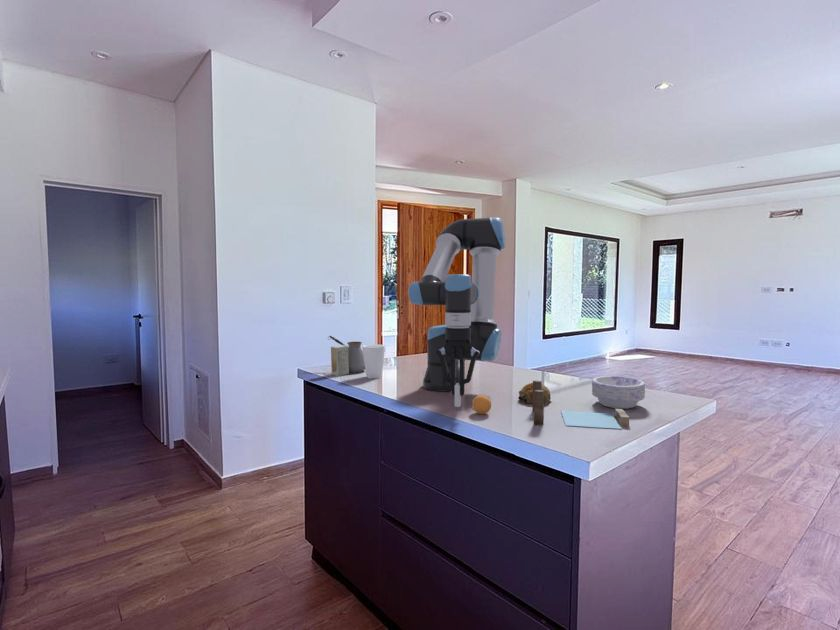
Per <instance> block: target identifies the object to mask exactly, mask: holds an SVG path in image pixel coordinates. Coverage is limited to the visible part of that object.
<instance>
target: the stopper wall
mask: <svg viewBox="0 0 840 630" xmlns="http://www.w3.org/2000/svg"><path fill="white" fill-rule="evenodd" d="M614 419H615V420H616V421H617V423H618V424H619V426H620V427H630V416H629V415H628V414H627V413H626V411H625V410H624V409H617V408H614Z"/></svg>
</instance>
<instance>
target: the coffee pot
mask: <svg viewBox="0 0 840 630" xmlns="http://www.w3.org/2000/svg"><path fill="white" fill-rule="evenodd" d="M329 338H330V339H329ZM327 340H330V341H331V340H333V341H334V342H336V343H337V344H339V345H340V346H341V345H344V346H348V363H349V374H350V373H351V374H352V373H353V374H354V373H357V372H358V373H362V371H363V372H364V371H366V370H365V363H364V356H363V352H362V347H361V346H362V344H363V343H362V341H348V342H347V345H346V344H344V343H343V342H341V341H340V340H339V339H337V338H335V337H334V336H332V335H329V336H328V337H327Z"/></svg>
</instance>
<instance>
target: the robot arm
mask: <svg viewBox="0 0 840 630" xmlns="http://www.w3.org/2000/svg"><path fill="white" fill-rule="evenodd" d="M503 223H504V222H503V221H502V219H501V218H499V217H490V216H489V217H484V218H483V217H479V218H478V217H477V218H462V219H458V220H456V221H453V222H451V223H450V224H449V225H447V226H446V227H444V229H442V230H441V232H440V233H439V234H438V236H437V237H436V240H435V249H434V251H433V253H432V255H431V258H430V260H429V262H428V264H427V266H426V269H425V270H424V273H423V275H422V277H421V278H420V281H418V280H417V281H413V282H411V283H410V284H409V287H408V292H407V293H408V300H409V302H410V303H411V304H412V305H419V306H444V307H445V311H444V312H445V313H444V314H445V315H444V316H445V317H444V319H445V320H444V321H445V323H444V324H440V325H435V326H434V325H433V326H430V327H429V328H428V330H427V338H426V342H427V350H426V351H427V352H426V353H427V367H426V370H425V373H424V375H423V379H422V387H423V389H425V390H430V391H435V392H436V391H437V392H450V394H451V395H452V396H454V408H460V407H461V406H462V396H464V395H465V391H466V390H465V387H466V386H465V385H466V384H469V383H470V382H471V380H472V377H473V372H474V369H475V364H476V361H479V362H480V361H481V362H491V361H494V360H496V358H497V357H498V355H499V351H500V347H501V341H502V331H501V329H499V328H498V324H497V323H496V322H495V320H494V309H495V290H496V289H495V284H496V273H497V272H496V271H497V270H496V269H497V267H496V266H497V265H496V264H497V258H498V257H499V256H500V255H501V253H502V252H501V250H504V249H505V248H506V237H505V236H506V235H505V228H504V224H503ZM462 250H463V251H464V250H465V251H466V250H468V251H469V255H471V256H472V258H473V259H472V269H471V271H472V273H471V275H469V274H463V273H462V274H460V273H457V274H448V273H449V271H450V269H451V266H452V263H453V261H454V258H455V256H456V255H457V254H459V253H460V251H462ZM466 361H470V362H469V364H468V365H469V366H468V370H467V374H466Z"/></svg>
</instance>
